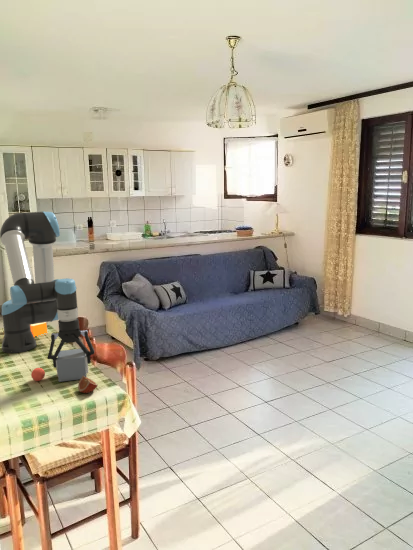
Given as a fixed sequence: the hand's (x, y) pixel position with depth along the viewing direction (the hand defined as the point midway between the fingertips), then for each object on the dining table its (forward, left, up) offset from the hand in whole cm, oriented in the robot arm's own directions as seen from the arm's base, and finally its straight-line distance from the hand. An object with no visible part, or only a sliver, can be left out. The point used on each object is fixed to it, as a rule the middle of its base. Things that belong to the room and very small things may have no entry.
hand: (73, 373), depth 177 cm
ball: (0, -13, +1) cm, 13 cm away
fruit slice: (+16, +6, -2) cm, 17 cm away
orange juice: (-65, -22, -1) cm, 68 cm away
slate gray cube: (0, 0, -1) cm, 1 cm away
